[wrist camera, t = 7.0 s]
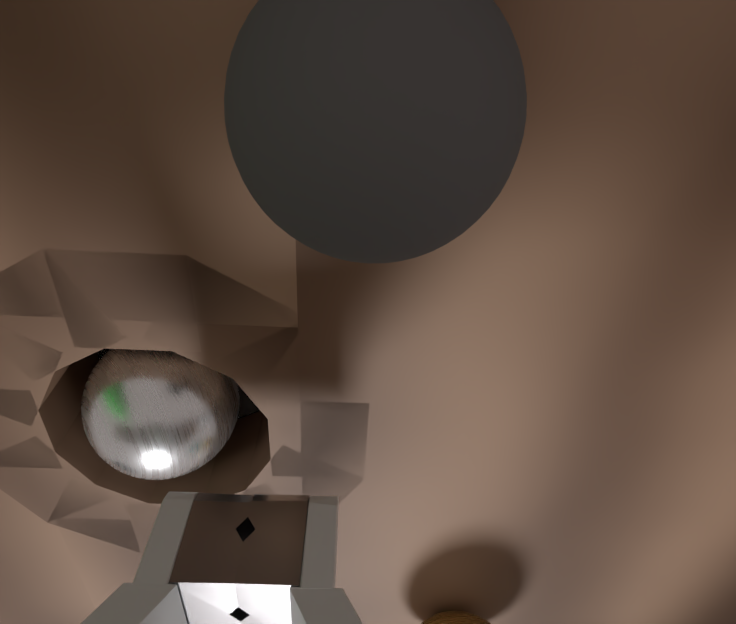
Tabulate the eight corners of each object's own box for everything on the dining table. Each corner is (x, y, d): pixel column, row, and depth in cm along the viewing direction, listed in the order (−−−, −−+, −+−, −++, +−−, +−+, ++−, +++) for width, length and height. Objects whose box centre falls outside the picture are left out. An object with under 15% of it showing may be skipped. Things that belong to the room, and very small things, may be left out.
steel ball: (262, 354, 11) (97, 428, 9) (270, 461, 13) (134, 540, 11) (189, 286, 13) (41, 335, 11) (205, 387, 15) (80, 444, 13)
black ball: (517, -53, 6) (619, -43, 4) (473, 201, 8) (522, 326, 6) (243, -69, 6) (154, -73, 4) (260, 191, 8) (209, 313, 6)
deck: (1269, -123, 8) (1579, -142, 6) (711, 595, 19) (752, 673, 17) (-432, -240, 7) (-744, -307, 5) (23, 575, 19) (-19, 654, 17)
